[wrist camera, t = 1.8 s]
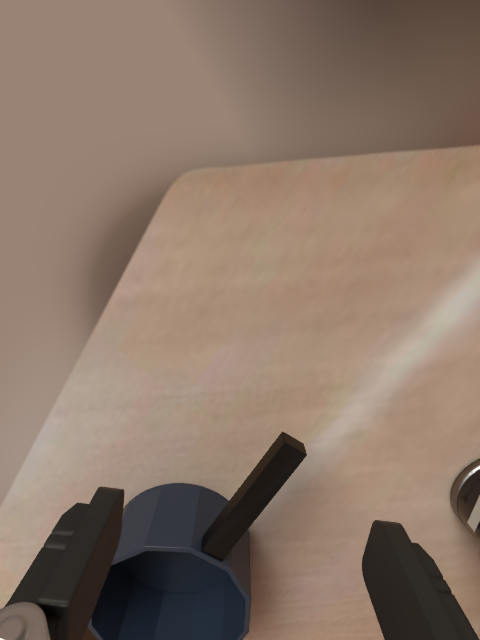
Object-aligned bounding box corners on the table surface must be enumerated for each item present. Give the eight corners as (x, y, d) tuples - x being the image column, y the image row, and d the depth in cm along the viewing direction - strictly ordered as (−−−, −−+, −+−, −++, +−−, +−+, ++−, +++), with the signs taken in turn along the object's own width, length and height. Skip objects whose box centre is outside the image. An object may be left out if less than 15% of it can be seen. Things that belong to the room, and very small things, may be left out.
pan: (343, 438, 37) (370, 493, 30) (203, 609, 43) (195, 693, 35) (221, 364, 35) (216, 403, 27) (91, 555, 41) (57, 631, 33)
